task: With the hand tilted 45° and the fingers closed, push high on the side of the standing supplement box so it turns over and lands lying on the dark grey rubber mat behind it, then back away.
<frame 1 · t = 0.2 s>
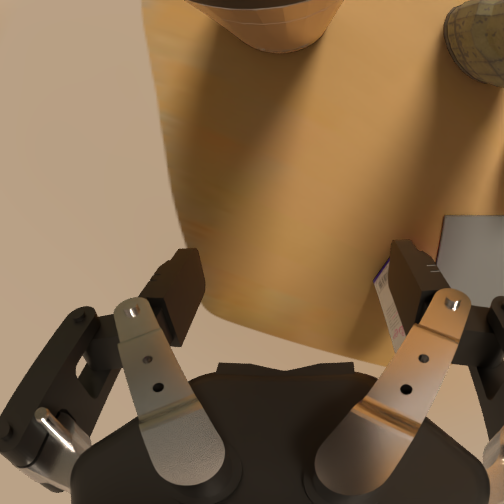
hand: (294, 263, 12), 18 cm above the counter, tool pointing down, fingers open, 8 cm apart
rubber mat: (479, 266, 30), on the counter
thermos: (478, 44, 18), on the counter
supplement box: (404, 270, 33), on the counter
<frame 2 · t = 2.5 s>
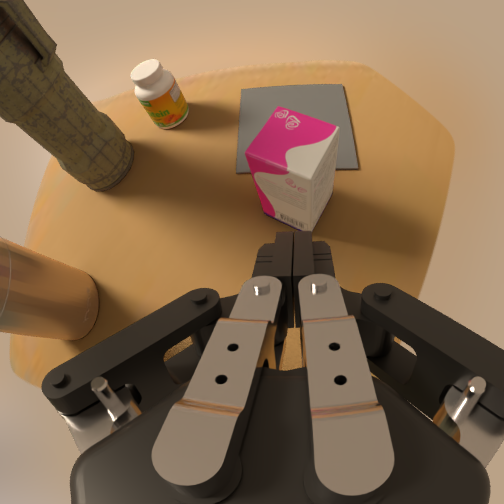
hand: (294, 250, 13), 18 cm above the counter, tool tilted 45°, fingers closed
rubber mat: (294, 123, 36), on the counter
supplement bottle: (172, 116, 40), on the counter
thermos: (109, 165, 40), on the counter
supplement box: (298, 203, 33), on the counter
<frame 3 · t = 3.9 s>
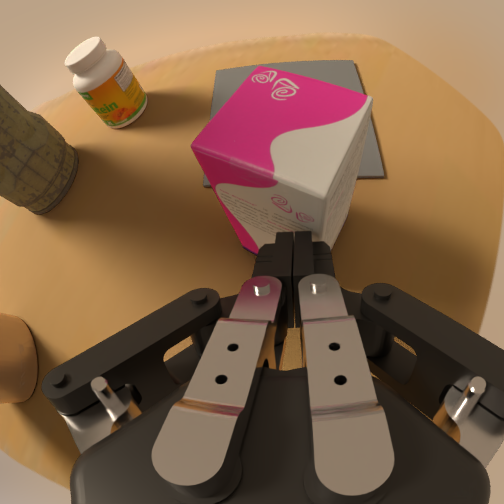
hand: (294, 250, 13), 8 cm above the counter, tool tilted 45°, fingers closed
rubber mat: (288, 112, 25), on the counter
supplement bottle: (127, 111, 29), on the counter
thermos: (52, 179, 29), on the counter
supplement box: (296, 230, 22), on the counter
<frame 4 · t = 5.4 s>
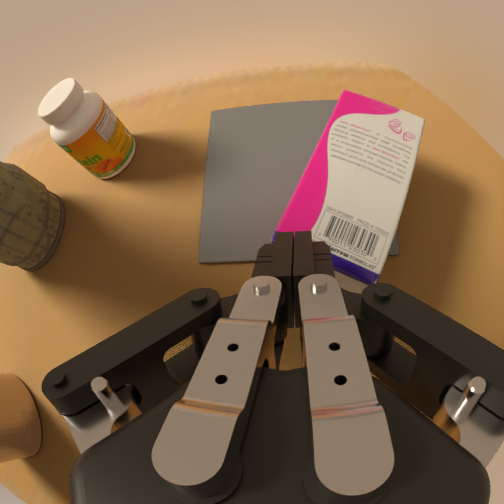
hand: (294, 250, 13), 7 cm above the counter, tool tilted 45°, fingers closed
rubber mat: (294, 169, 23), on the counter
supplement bottle: (114, 157, 27), on the counter
thermos: (39, 231, 27), on the counter
supplement box: (318, 278, 17), point 3 cm above the counter, touching rubber mat
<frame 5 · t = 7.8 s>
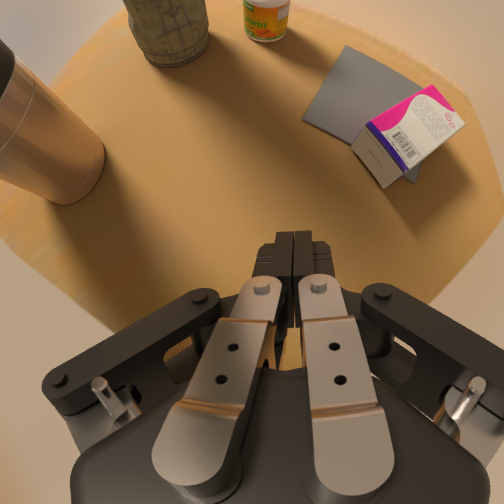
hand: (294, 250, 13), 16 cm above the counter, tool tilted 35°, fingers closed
rubber mat: (379, 106, 31), on the counter
supplement bottle: (265, 31, 32), on the counter
thermos: (177, 45, 32), on the counter
supplement box: (373, 159, 27), point 3 cm above the counter, touching rubber mat
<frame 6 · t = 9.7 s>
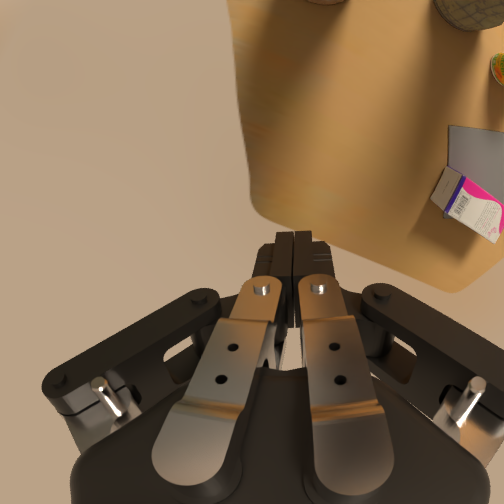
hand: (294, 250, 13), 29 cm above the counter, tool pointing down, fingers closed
rubber mat: (483, 174, 35), on the counter
supplement bottle: (501, 70, 27), on the counter
thermos: (458, 5, 24), on the counter
supplement box: (444, 186, 35), point 3 cm above the counter, touching rubber mat
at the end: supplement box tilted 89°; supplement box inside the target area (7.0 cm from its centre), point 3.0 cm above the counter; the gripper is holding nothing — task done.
